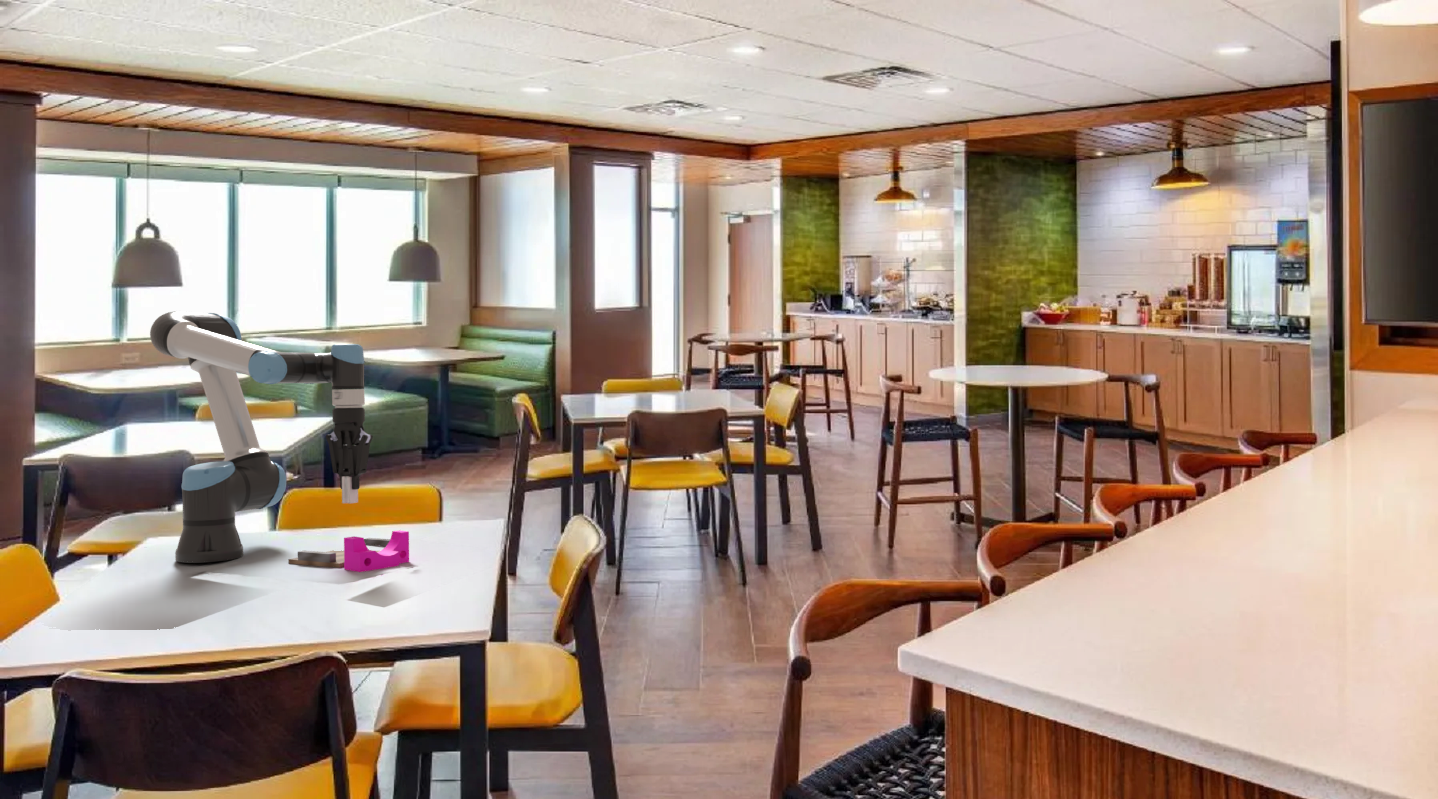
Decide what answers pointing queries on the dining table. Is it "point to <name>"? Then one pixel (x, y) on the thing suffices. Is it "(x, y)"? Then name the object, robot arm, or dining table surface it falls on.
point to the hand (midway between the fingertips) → (350, 502)
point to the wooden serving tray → (330, 555)
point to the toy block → (376, 553)
